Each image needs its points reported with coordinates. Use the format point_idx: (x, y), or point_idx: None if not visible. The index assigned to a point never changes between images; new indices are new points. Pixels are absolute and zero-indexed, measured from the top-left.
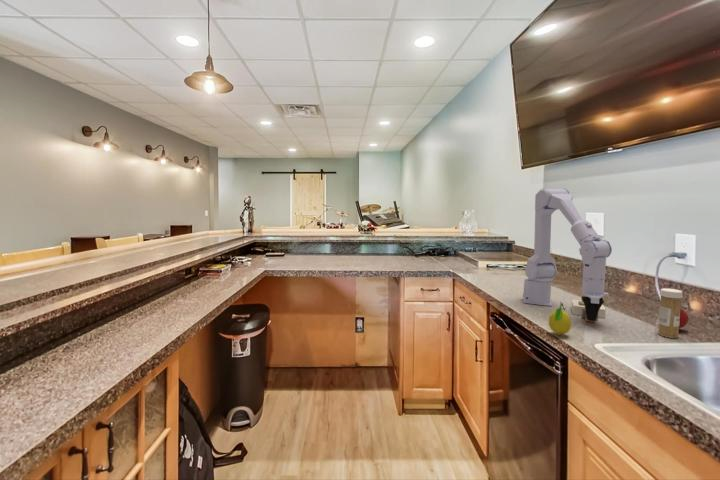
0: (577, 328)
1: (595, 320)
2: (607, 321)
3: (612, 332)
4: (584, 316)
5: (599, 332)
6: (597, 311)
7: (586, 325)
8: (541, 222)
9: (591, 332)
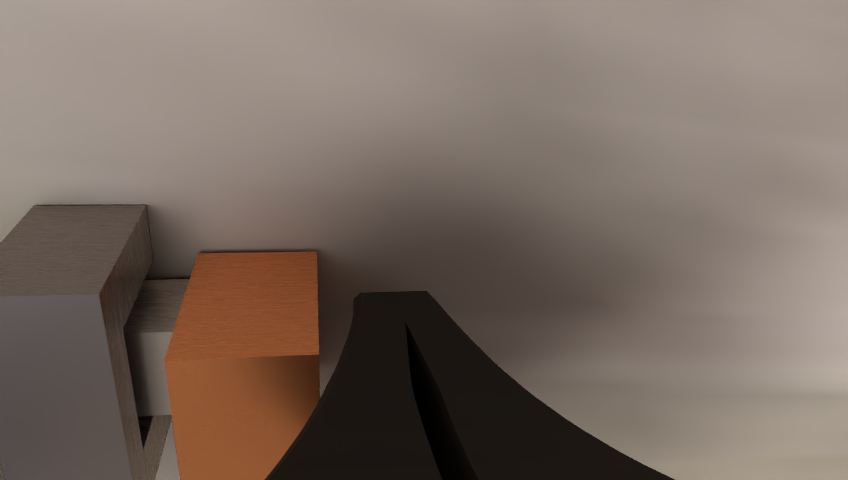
0: (696, 445)
1: (315, 268)
2: (92, 38)
3: (763, 64)
4: None
5: (798, 235)
6: (525, 403)
7: (531, 361)
8: None
9: (815, 320)
